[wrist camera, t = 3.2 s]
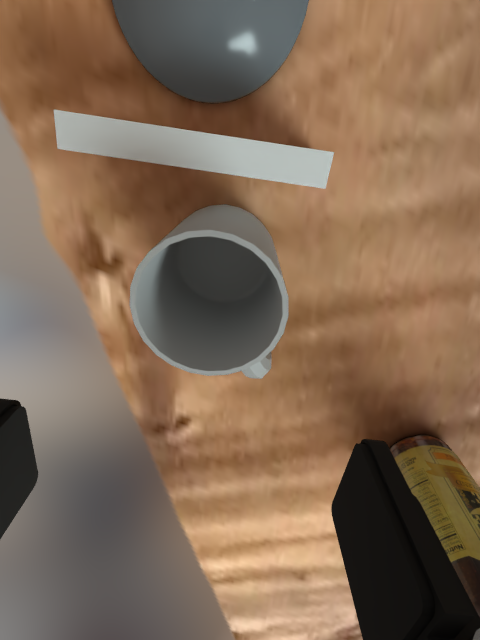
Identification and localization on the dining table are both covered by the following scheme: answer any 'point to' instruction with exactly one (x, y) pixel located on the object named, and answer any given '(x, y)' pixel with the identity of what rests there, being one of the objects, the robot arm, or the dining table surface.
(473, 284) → the dining table surface
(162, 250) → the cup
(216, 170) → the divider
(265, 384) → the dining table surface
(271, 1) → the coaster
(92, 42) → the dining table surface
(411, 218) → the dining table surface
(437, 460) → the sauce bottle
